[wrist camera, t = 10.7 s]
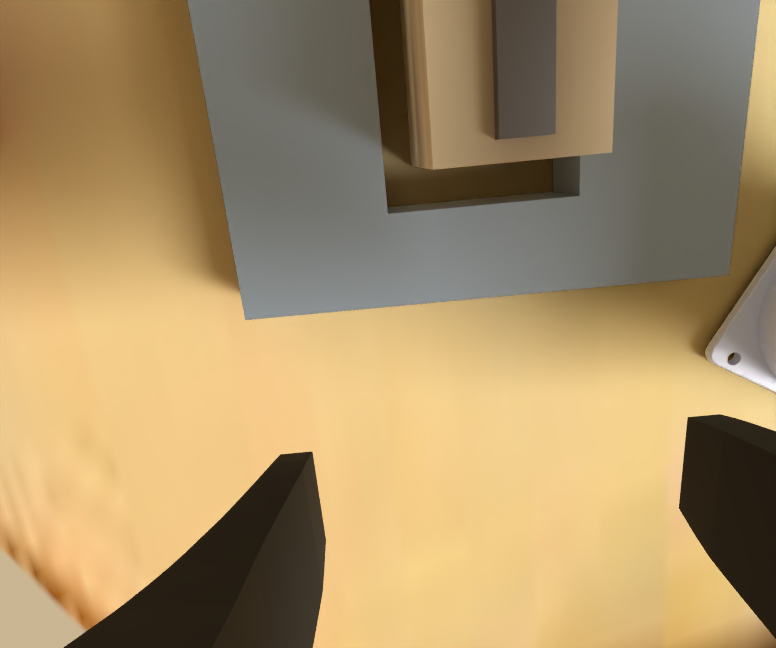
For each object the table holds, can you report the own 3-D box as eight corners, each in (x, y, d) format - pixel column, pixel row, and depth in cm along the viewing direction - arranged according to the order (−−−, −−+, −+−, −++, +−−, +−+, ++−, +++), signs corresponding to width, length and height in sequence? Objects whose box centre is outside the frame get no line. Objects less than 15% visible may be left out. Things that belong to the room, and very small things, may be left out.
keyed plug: (522, -44, 16) (635, -198, 9) (524, 155, 18) (620, 152, 11) (396, -31, 16) (414, -177, 9) (411, 166, 18) (435, 170, 11)
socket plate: (726, -210, 15) (792, -280, 13) (685, 261, 19) (729, 275, 17) (183, -157, 15) (147, -217, 13) (261, 300, 19) (245, 320, 17)
